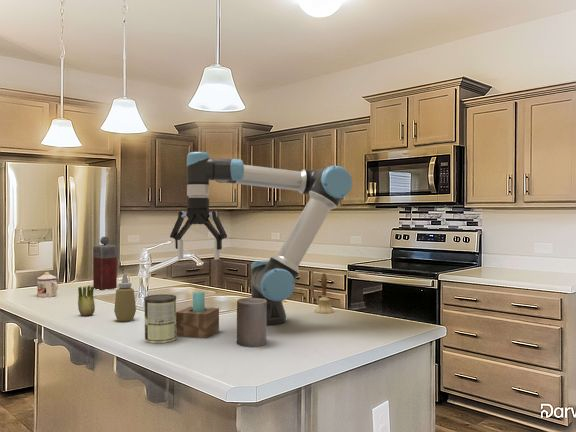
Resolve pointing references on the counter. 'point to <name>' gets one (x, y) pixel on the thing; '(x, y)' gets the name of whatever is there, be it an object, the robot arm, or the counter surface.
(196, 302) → the dowel
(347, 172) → the robot arm
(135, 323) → the counter surface
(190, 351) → the counter surface
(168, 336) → the coffee can
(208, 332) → the socket block
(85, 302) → the fennel bulb
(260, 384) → the counter surface
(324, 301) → the hand bell
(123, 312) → the squeeze bottle
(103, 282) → the glass decanter
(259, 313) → the pillar candle
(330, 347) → the counter surface
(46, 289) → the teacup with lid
